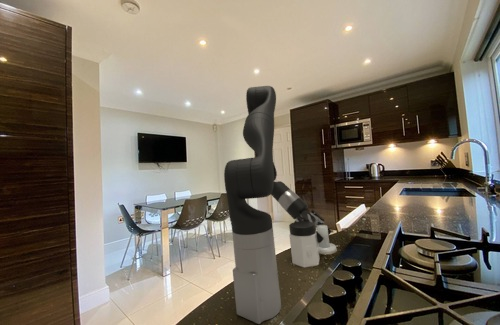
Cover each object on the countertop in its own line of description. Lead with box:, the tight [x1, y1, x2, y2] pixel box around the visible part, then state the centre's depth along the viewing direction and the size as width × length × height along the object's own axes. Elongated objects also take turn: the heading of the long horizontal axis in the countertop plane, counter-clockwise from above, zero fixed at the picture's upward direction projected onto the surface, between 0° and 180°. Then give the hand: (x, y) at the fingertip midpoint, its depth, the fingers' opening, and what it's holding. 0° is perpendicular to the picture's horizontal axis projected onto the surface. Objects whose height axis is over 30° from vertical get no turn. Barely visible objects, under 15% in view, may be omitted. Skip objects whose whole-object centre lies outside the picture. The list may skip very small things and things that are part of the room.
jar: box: [288, 221, 320, 268], centre depth 66 cm, size 9×8×12 cm
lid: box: [316, 224, 337, 255], centre depth 73 cm, size 8×8×8 cm
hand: (326, 237), depth 73 cm, fingers open, 8 cm apart
